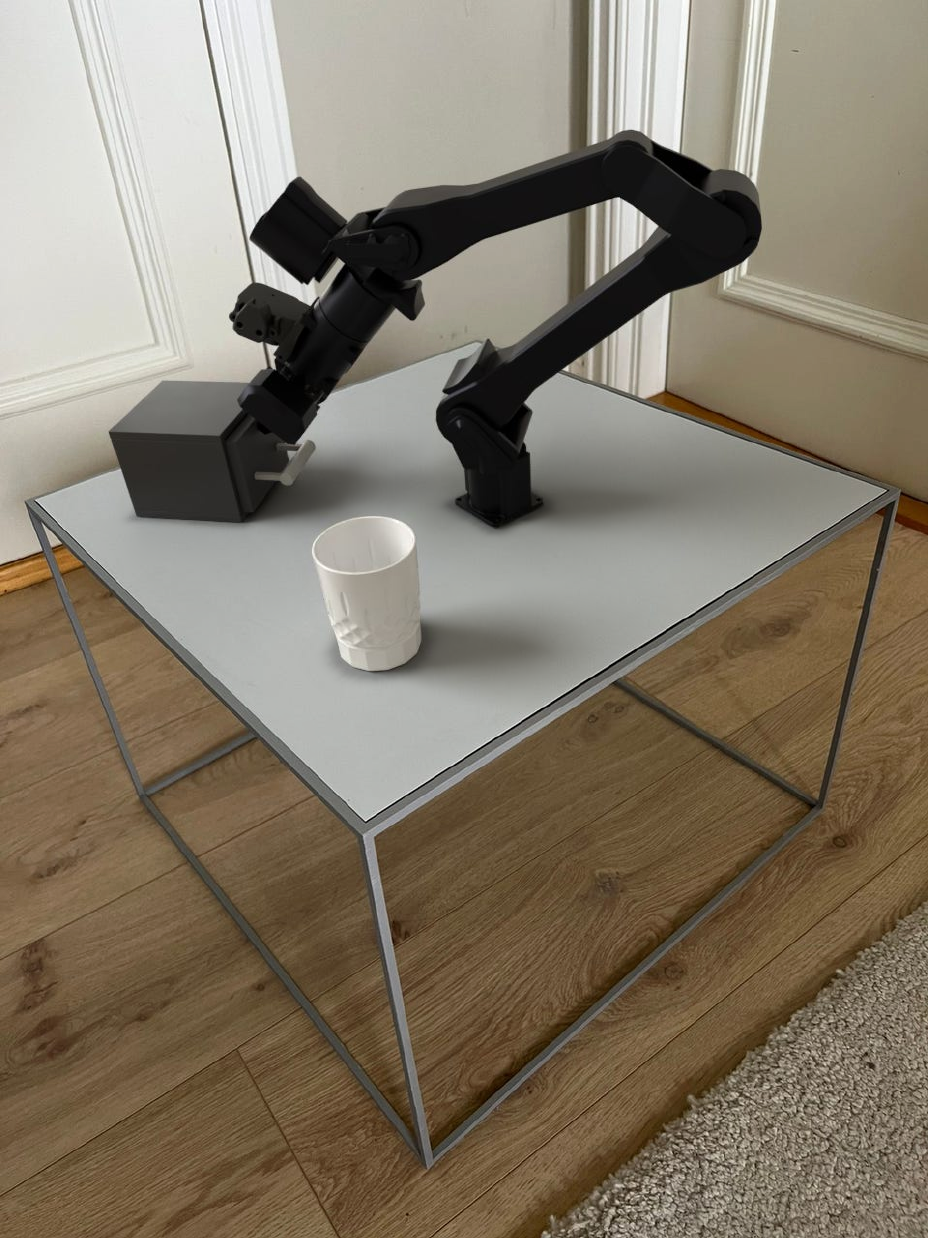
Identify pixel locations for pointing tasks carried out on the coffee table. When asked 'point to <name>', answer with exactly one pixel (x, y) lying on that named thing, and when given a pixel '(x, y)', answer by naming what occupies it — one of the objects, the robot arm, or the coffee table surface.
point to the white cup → (371, 590)
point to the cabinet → (181, 451)
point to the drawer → (262, 461)
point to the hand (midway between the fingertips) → (262, 430)
